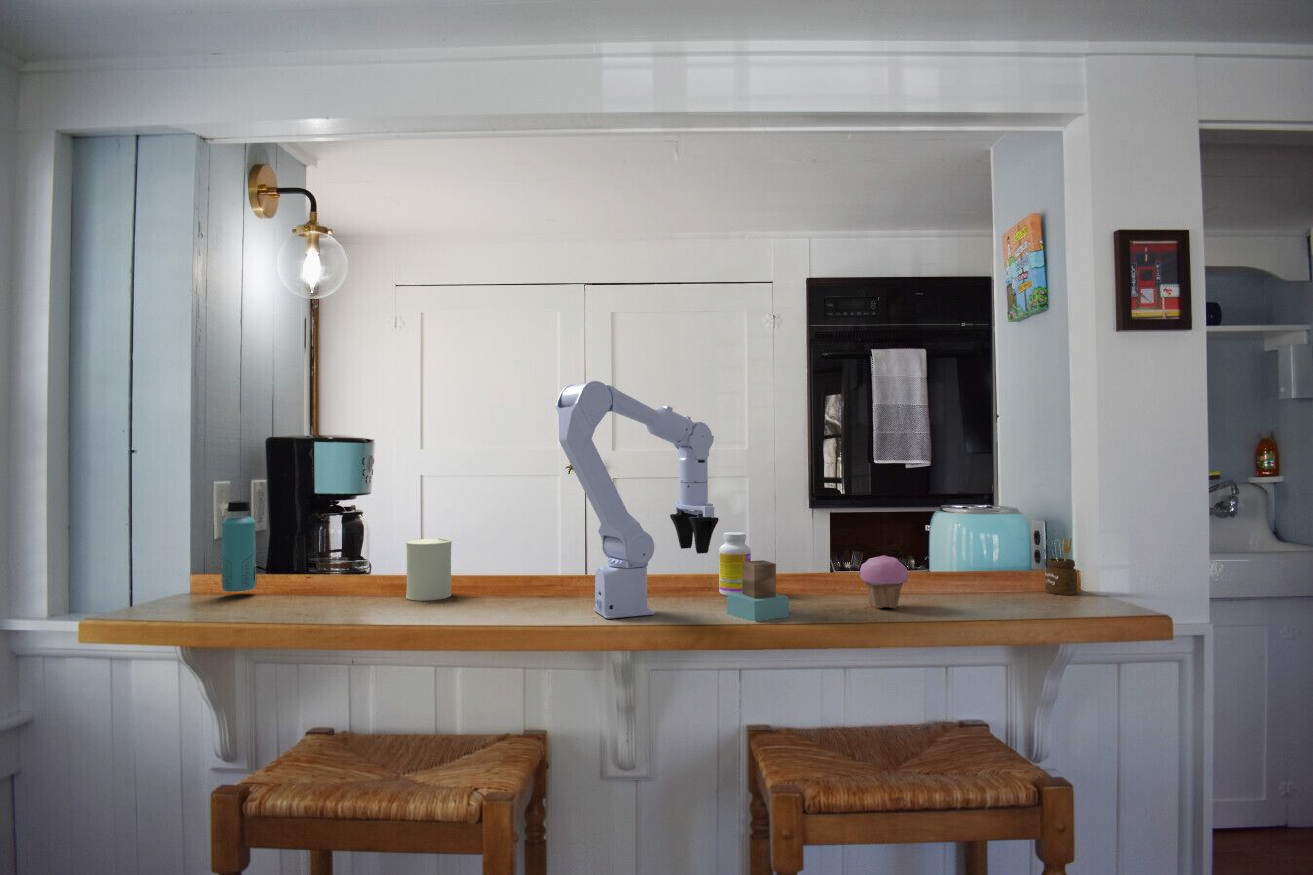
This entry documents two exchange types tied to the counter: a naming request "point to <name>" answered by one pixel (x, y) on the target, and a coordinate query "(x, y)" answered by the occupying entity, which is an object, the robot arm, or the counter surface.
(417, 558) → the can
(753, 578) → the walnut block
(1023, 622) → the counter surface
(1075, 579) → the utensil holder
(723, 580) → the supplement bottle
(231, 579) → the beverage bottle
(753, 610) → the teal base box
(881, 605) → the cupcake
